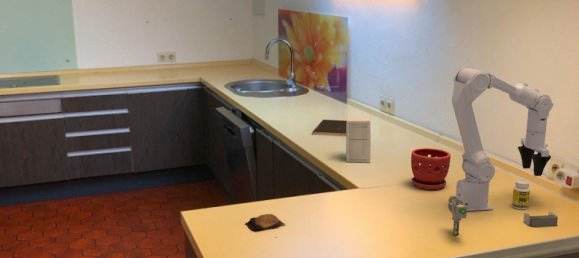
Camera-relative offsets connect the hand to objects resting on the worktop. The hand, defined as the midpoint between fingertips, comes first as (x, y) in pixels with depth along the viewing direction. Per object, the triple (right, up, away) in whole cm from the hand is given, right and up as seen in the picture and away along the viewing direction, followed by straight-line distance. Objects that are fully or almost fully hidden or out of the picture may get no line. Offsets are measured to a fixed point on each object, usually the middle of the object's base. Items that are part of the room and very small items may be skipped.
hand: (531, 171), depth 199 cm
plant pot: (-29, -6, +17) cm, 34 cm away
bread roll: (-85, -15, -15) cm, 87 cm away
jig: (-4, -14, -16) cm, 22 cm away
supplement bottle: (-5, -11, -3) cm, 13 cm away
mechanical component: (-31, -16, -23) cm, 42 cm away
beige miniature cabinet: (-50, +2, +47) cm, 69 cm away
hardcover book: (-57, +13, +93) cm, 110 cm away
